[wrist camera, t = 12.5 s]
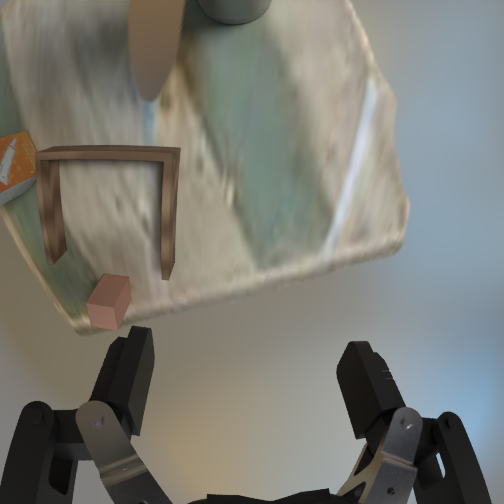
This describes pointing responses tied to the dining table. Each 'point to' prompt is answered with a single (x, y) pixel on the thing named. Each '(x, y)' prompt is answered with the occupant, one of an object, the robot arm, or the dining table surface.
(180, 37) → the dining table surface
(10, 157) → the small box
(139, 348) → the robot arm
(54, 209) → the u-shaped bracket
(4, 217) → the dining table surface
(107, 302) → the terracotta block
